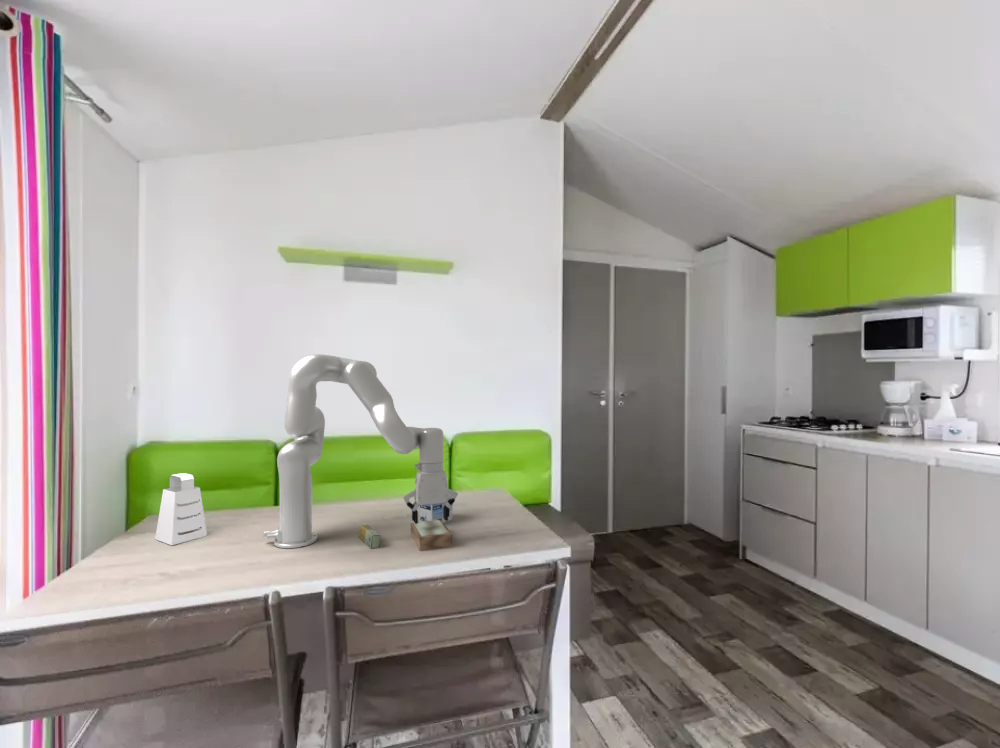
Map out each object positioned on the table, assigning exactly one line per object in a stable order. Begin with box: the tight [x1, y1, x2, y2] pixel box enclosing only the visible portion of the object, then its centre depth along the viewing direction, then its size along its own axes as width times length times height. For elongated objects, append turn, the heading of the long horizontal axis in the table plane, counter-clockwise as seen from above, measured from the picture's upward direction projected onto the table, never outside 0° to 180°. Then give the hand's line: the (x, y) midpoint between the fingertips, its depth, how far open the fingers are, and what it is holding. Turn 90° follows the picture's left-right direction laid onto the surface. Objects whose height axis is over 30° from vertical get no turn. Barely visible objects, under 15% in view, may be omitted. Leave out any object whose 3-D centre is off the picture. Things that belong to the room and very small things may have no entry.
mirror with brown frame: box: [410, 520, 453, 552], centre depth 152 cm, size 10×15×4 cm, turn 21°
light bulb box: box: [419, 493, 454, 523], centre depth 171 cm, size 11×7×11 cm, turn 143°
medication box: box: [358, 524, 381, 550], centre depth 150 cm, size 12×3×4 cm, turn 35°
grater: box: [154, 472, 208, 546], centre depth 154 cm, size 10×10×20 cm
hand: (430, 521), depth 152 cm, fingers open, 9 cm apart
